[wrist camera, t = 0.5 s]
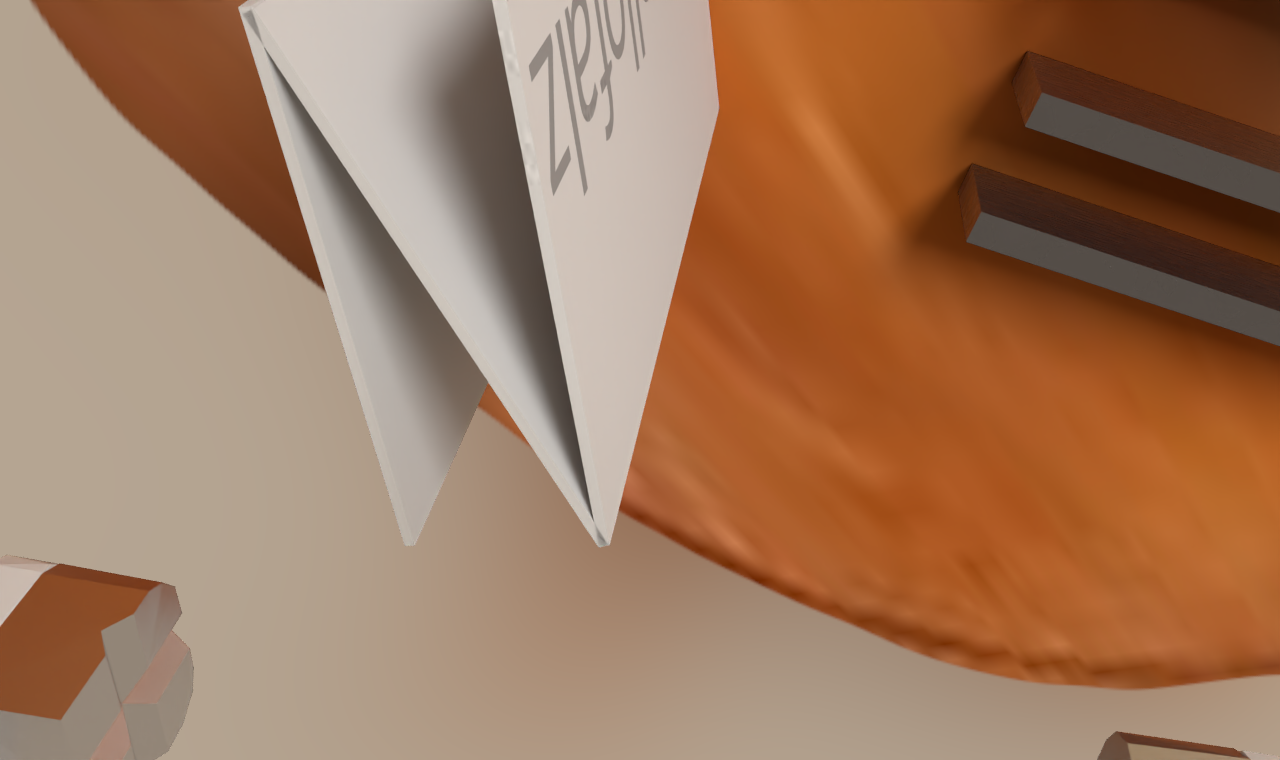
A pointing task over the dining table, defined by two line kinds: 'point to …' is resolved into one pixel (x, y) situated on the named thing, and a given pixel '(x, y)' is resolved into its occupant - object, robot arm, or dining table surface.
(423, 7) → the brochure
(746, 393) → the dining table surface
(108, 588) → the robot arm
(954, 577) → the dining table surface
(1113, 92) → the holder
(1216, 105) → the dining table surface
